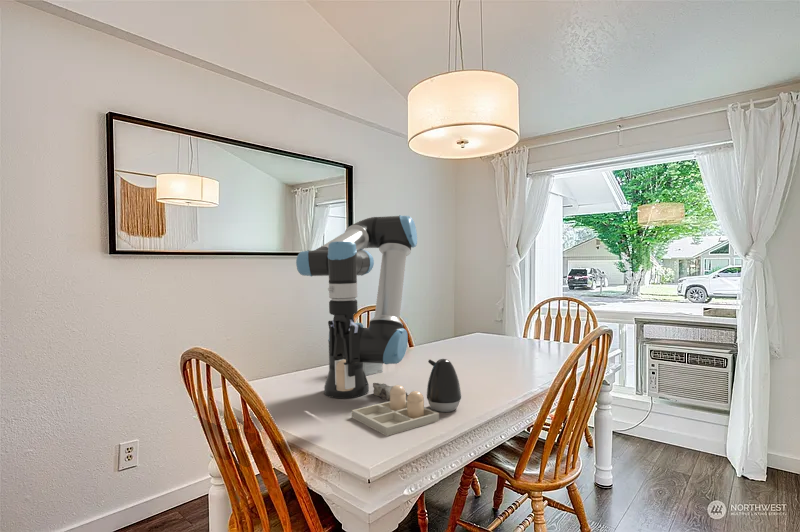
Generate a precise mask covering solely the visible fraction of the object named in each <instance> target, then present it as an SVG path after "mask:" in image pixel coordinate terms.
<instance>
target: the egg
mask: <svg viewBox="0 0 800 532" xmlns="http://www.w3.org/2000/svg"><path fill="white" fill-rule="evenodd" d="M344 363H346V359H344V360H341V361H339V362H338V364H337V366H336V389H337V390H338V391H350V390H353V389H354V388H350V389H345V373H344Z"/></svg>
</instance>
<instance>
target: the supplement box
mask: <svg viewBox="0 0 800 532" xmlns="http://www.w3.org/2000/svg"><path fill="white" fill-rule="evenodd" d="M383 366H384V364H382V363H364V362H363V369H364V372H365V375H366V376H370V375H375V374H380V373H383V372H384V367H383Z"/></svg>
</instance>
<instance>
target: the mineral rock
mask: <svg viewBox="0 0 800 532" xmlns="http://www.w3.org/2000/svg"><path fill="white" fill-rule="evenodd" d="M372 387H373V390H372V391H373V396H375V397H380V398H381V399H382V400H383V401H385V402H389V401H390V390H391V388H392V387H393V386H390V385H388V384H386V383H379V382H373V383H372ZM408 395H409V394H408V393H407V392H406V401H407V397H408Z"/></svg>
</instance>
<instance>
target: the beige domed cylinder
mask: <svg viewBox="0 0 800 532" xmlns="http://www.w3.org/2000/svg"><path fill="white" fill-rule="evenodd" d="M391 387H392V388H391V390H390V409H391V410H394V411H397V410H401V409H405V408H406V401H407V400H406V393H407V391H406V389H405V388H404V386H402V385H400V384H395V385H393V386H391Z"/></svg>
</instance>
